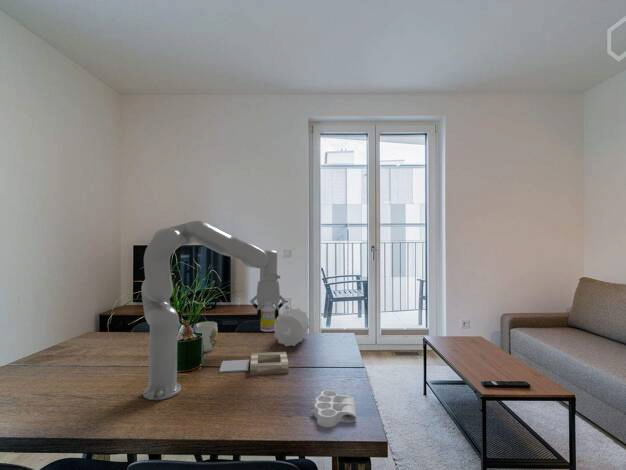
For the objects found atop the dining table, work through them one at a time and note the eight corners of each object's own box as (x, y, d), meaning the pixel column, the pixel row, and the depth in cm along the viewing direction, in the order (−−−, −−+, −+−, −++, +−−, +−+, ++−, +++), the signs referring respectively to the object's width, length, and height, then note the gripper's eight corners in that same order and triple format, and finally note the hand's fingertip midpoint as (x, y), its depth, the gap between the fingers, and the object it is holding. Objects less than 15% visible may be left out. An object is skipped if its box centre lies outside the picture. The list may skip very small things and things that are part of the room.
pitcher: (225, 344, 176) (226, 318, 176) (207, 355, 159) (207, 327, 159) (207, 343, 179) (207, 317, 179) (187, 353, 161) (187, 325, 162)
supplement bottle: (262, 327, 150) (263, 299, 150) (277, 328, 149) (277, 300, 149) (258, 331, 143) (258, 301, 143) (272, 332, 142) (273, 302, 142)
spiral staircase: (302, 342, 193) (295, 355, 169) (276, 328, 196) (265, 338, 171) (316, 314, 194) (310, 323, 169) (289, 301, 196) (280, 307, 171)
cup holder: (288, 372, 139) (288, 364, 139) (250, 374, 136) (250, 366, 137) (286, 359, 155) (286, 351, 155) (251, 360, 152) (251, 353, 152)
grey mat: (248, 371, 140) (248, 369, 140) (219, 372, 138) (219, 371, 139) (249, 361, 152) (249, 359, 152) (222, 362, 150) (222, 360, 150)
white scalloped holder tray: (356, 430, 98) (307, 427, 99) (354, 400, 115) (312, 398, 117) (356, 418, 98) (307, 415, 99) (354, 391, 116) (313, 389, 117)
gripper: (287, 277, 151) (286, 316, 151) (249, 277, 149) (248, 317, 148) (288, 279, 144) (288, 320, 143) (248, 279, 141) (247, 321, 141)
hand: (267, 318), depth 146 cm, fingers closed on supplement bottle, 6 cm apart
